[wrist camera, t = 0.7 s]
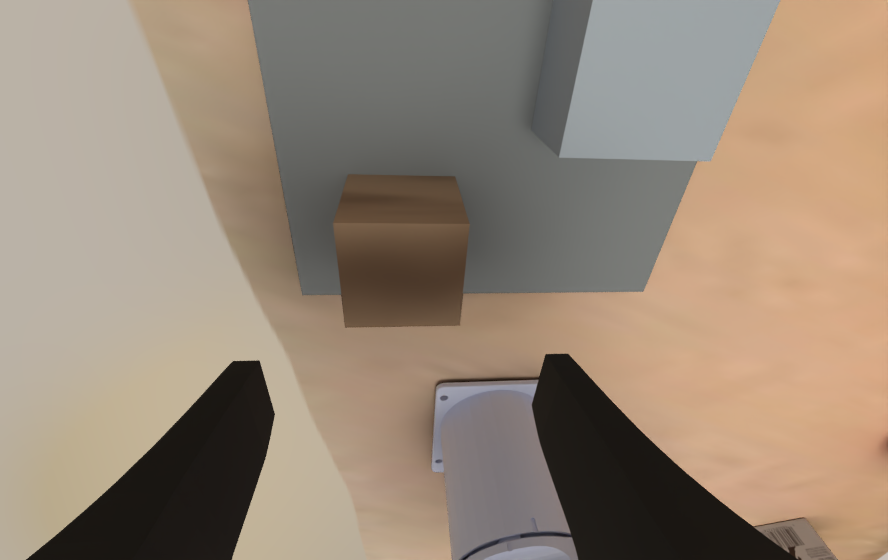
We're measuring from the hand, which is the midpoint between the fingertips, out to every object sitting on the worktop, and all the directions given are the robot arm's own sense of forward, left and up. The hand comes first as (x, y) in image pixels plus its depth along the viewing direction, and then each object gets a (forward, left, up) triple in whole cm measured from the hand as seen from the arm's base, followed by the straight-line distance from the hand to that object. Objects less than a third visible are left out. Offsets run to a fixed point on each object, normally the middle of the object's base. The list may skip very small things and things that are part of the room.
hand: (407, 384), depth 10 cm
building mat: (+3, -4, -10) cm, 11 cm away
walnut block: (0, 0, -10) cm, 10 cm away
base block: (+7, -8, -10) cm, 14 cm away
